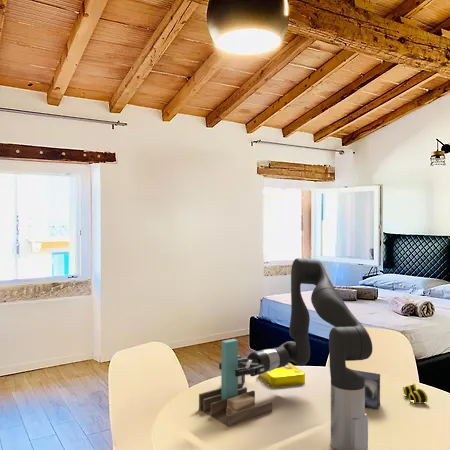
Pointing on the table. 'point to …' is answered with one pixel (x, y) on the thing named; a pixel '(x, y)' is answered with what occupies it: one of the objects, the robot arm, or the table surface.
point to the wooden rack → (217, 407)
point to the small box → (371, 389)
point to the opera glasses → (415, 393)
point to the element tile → (284, 376)
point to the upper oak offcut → (240, 402)
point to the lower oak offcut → (230, 411)
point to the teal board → (229, 369)
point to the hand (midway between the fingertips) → (227, 369)
